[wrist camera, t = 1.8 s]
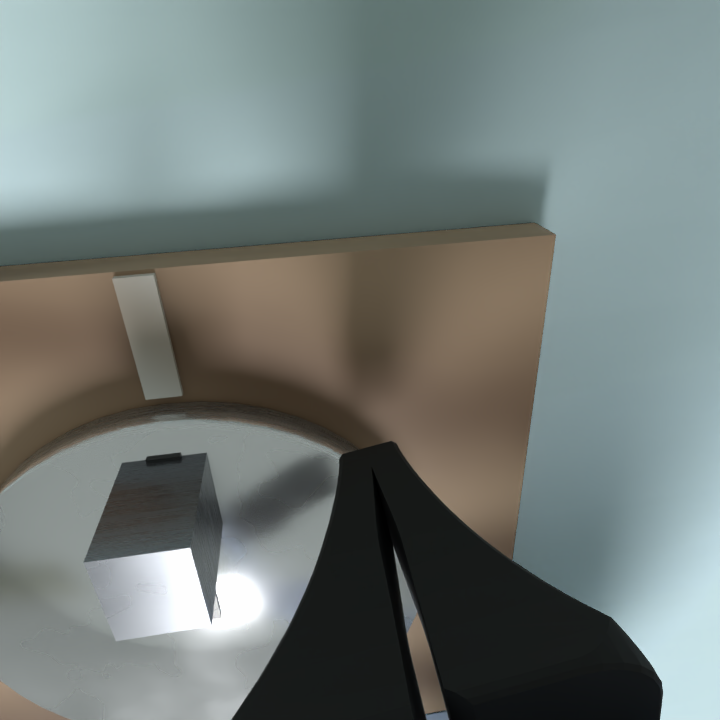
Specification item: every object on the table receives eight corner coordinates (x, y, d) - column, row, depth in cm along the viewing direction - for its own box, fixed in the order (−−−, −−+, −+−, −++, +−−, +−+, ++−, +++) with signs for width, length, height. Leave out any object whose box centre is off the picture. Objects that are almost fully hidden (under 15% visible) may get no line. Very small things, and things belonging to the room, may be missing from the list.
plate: (483, 673, 24) (494, 705, 22) (5, 756, 22) (-10, 796, 20) (534, 222, 14) (559, 236, 13) (-315, 291, 12) (-379, 316, 11)
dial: (413, 667, 20) (443, 797, 17) (58, 728, 19) (7, 883, 15) (416, 375, 14) (465, 479, 11) (-110, 433, 13) (-262, 576, 9)
